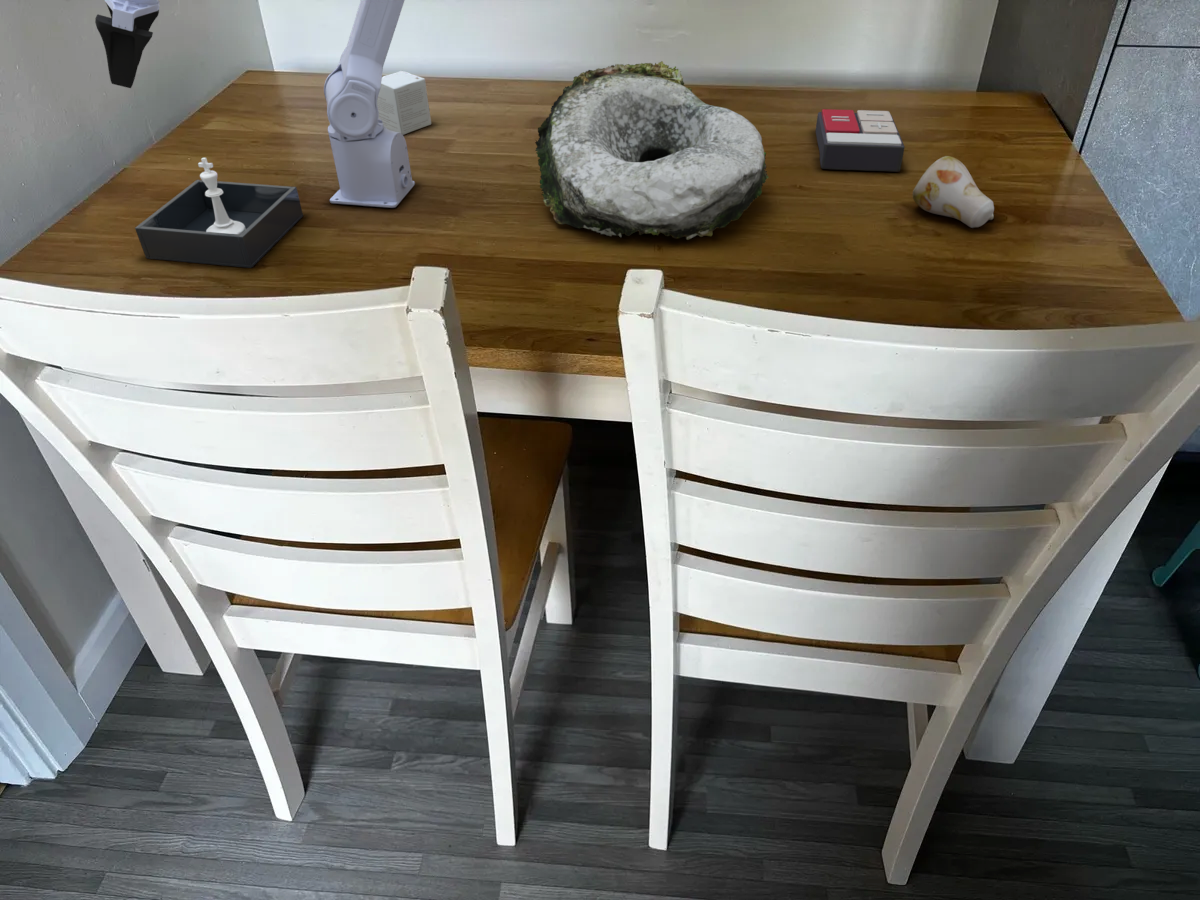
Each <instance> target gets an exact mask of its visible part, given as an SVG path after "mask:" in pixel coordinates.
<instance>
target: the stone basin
mask: <svg viewBox="0 0 1200 900" xmlns="http://www.w3.org/2000/svg"><path fill="white" fill-rule="evenodd" d="M692 89H693V88H691V87H687V86H685V82H684V77H683V75H682V71H681V70H680V69H679V68H677V66H676V65H675V66H674V67H670V65H669V64H668V65H667V64H665V63H664V61H663V60H661V61H660V62H657V63H656V62H655V63H654V64H653V63H652V62H641V63H636V64H629V63H628V64H627V63H626V64H624V63H623V64H622V63H620V64H619V63H615V64H612V65H608V66H607V67H603V68H599V67H598V68H595V69H593V70H592V69H588V70H586V71H583V72H581V73H579V74H578V75H577V76H576V75H575V76H573V80H572V84H571V85H568V86H564V88H563V90H562V94H561V95H559V96H558V97H557V99H556V100H555V101H554V102H553V105H551V107H550V112H549V114H548V116H547V117H546V118H545V119H544V121H542V123H541V124H540V126H539V127H537V133H538V134H537V135H538V139H537V140H535V141H534V143H535V145H536V148H535V149H534V150H535V151H536V153H535V154H537V155H536V156H537V158H538V160H537V161H538V162H537V163H538V164H537V165H538V166H539V172H540V176H539V177H540V180H539V184H540V185H539V189H541V190H540V192H541V191H542V194H541V196H542V197H543V203H544V205H545V206H546V207H548V208H549V212H551V214H552V215H553V220H554V222H555V223H557V224H559V225H568V226H571V227H573V228H576V229H579V230H580V229H583V228H584V229H587V230H591V231H593V232H596V233H598V234H599V233H600V235H606V236H609V237H612V236H619V237H620V238H622V236H623V235H625V236H628V237H630V236H631V235H633V234H635V233H636V232H638V235H640V236H642V235H644V234H645V235H648V234H651V235H653V236H655V235H656V236H659V235H660V234H663V235H664V236H665V237H670V236H671V237H672V238H673V239H681V238H684V237H685V239H686V240H687V241H689V240H691V239H692V238H695V237H696V236H699V237H700V238H702V237H704V236H707V237H712V236H713V235H714V234H713V233H714V232H713V231H715V230H716V229H722V228H726V227H727V225H729V224H731V223H732V222H734V221H737V220H739V219H740V217H742V216H743V214H744V212H745V211H747V210H748V208H749V207H751V204H752V203H754V201H756V199H758V197H761V196H762V193H763V190H762V188H763V186H764V184H765V183H767V180H768V179H769V178H770V177H769V175H768V173H767V172H768V171H767V164H766V155H767V152H765V149H764V145H763V138H762V135H761V134H760V132H759V131H758V129H757V128H756V126H755V125H754V124H753V123H752V122H751V121H750V120H749V119H748V118H745V117H744V116H743V115H741V114H740V113H737V112H735V111H733V110H731V109H729V108H727V107H721V106H716V105H710V104H708V103H705V102H704V101H702V100H701V99H700V98H699V97H698V96H697V95H696V94H695V93H694V92H693V90H692ZM535 151H534V152H535Z"/></svg>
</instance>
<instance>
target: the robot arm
mask: <svg viewBox="0 0 1200 900" xmlns="http://www.w3.org/2000/svg"><path fill="white" fill-rule="evenodd" d="M103 1H104V3H105V4H106V7H107V10H108V12H109V14H110V17H109V16H106V15H101V14H98V13H97V14H96V15H95V19H94V20H95V21H94V23H95V26H96V29H97V31H98V33H99V35H100V38H101V40H102V43H103V47H104V50H105V55H106V62H107V68H108V75H109V81H110V83H111V84H112V85H116V86H120V87H123V88H126V89H132V87H133V85H134V82H135V79H136V75H137V72H138V67H139V65H140V62H141V59H142V56H143V52H144V50H145V48H146V46H147V44H148V43H149V42H150V41H151V39H152V37H153V35H154V32H152V31H150V29H151V27H152V26H153V23H154V22H155V21H156V19H157V18H158V16H159V14H160V5H161V4H160V0H103ZM405 1H406V0H360V1H359V5H358V7H357V11H356V14H355V17H354V21H353V24H352V28H351V32H350V35H349V37H348V41H347V44H346V46H345V48H344V50H343V51H342V53H341V55H340V58H339V61H338V63H337V66H336V68H335V69H334V70H332V71H331V72H330V73H329V74H328V76H327V77H326V79H325V81H324V84H323V94H324V98H325V101H326V116H327V120H328V122H329V125H328V127H327V133H328V138H329V143H330V147H331V152H332V153H331V154H332V157H333V161H334V166H335V171H336V176H337V180H338V181H337V182H338V185H339V189H338V190H337V191H336V192H335V193H334V194H333V196H331V197H330V199H329V202H330V203H331V204H335V205H336V204H338V205H350V206H360V207H361V206H363V207H374V208H375V207H376V208H387V209H388V208H390V209H394V208H397V206H398V205H399V204H400V203H401V202H402V201H403V200H404V198H405V197H406V196H407V195H408V194H409V192H410V191H411V190H412V189H413V187H415V185H416V182H415V180H413V176H412V170H411V163H410V158H409V151H408V146H407V141H406V138H405V136H404V135H402V134H401V133H399V132H395V131H391V130H389V129H387V128H385V127H384V125H383V122H382V120H381V119H379V111H378V106H377V99H378V95H379V92H380V88H381V80H382V77H383V70H384V65H385V62H386V59H387V56H388V53H389V49H390V46H391V44H392V40H393V37H394V34H395V31H396V28H397V25H398V21H399V19H400V16H401V13H402V9H403V7H404V4H405Z"/></svg>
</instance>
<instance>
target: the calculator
mask: <svg viewBox="0 0 1200 900" xmlns="http://www.w3.org/2000/svg"><path fill="white" fill-rule="evenodd" d="M815 135H816V136H815V137H816V142H817V146H818V151H819V164H820V168H821V169H823V170H836V171H837V170H838V171H866V172H870V171H871V172H892V173H893V172H896V173H897V172H900V171H901V168H902V163H903V157H904V153H905V148H906V147H905V145H904V141H903V139H902V137H901V134H900V131H899V129H898V127H897V125H896V122H895V121H894V117H893V116H892V114H891V113H890V111H889V110H870V109H869V110H867V109H866V110H865V109H858V110H857V111H856V112H855V111H854V110H853V109H835V108H834V109H833V108H829V109H828V108H823V109H821V111H819V112H817V116H816V124H815Z"/></svg>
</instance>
